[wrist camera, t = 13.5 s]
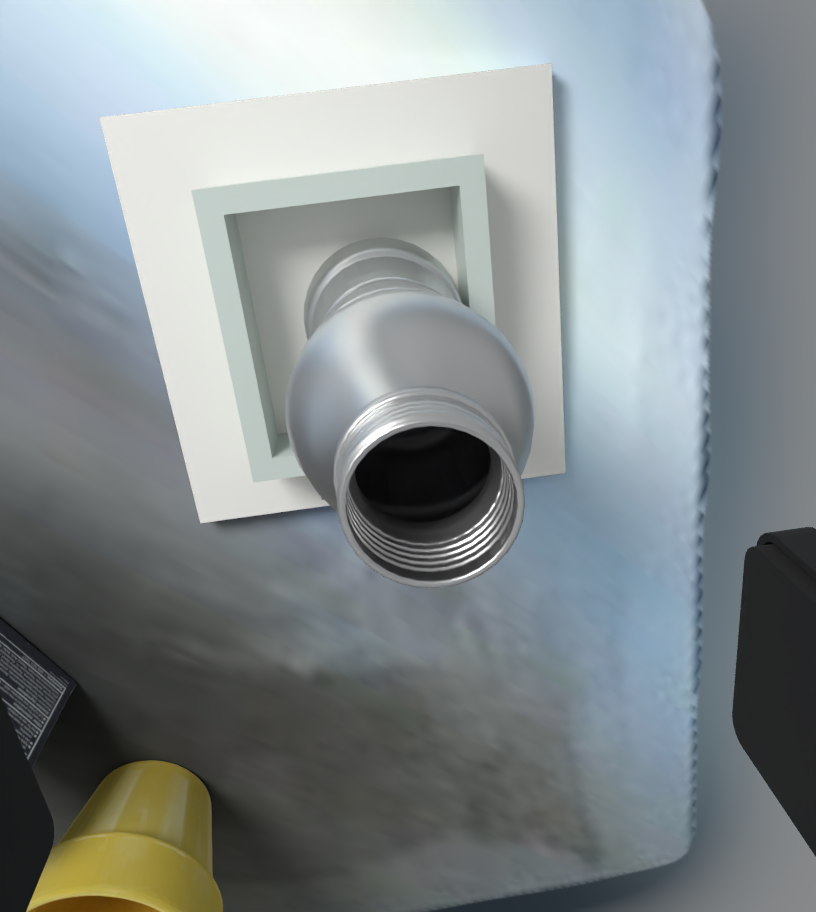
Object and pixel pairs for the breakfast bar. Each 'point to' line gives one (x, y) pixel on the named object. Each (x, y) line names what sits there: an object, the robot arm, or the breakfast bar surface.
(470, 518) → the metal bottle
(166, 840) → the plant pot
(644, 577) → the breakfast bar surface
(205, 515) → the charging dock
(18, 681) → the small box
